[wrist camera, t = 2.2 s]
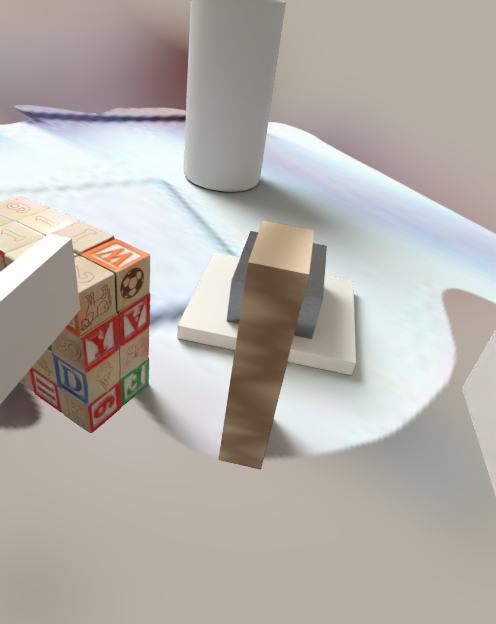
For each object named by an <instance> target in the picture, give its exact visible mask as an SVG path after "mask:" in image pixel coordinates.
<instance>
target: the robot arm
mask: <svg viewBox="0 0 496 624" xmlns="http://www.w3.org/2000/svg"><path fill="white" fill-rule="evenodd" d="M79 311H80V302H79V293H78V285H77V277H76V269H75V260H74V252H73V244H72V238H69V237H64V236H58V235H53V234H47V235H46V236H45V237H44V238H42V239H41V240H40V241H39V242H37V243H36V244H35V245H34V246H32V247H31V248H30V249H29V250H27V251H26V252H25V253H24V254H22V255H21V256H20V257H19V258H17V259H16V260H15V261H14V262H12V263H11V264H10V265H9V266H7V267H6V268H5V269H4V270H2V271H1V272H0V404H1V403H2V402H3V401H4V400H5V398H6V397H7V396H8V395H9V394H10V393H11V391H12V390H13V389H14V388H15V387H16V385H17V384H18V383H19V382H20V381H21V379H22V378H23V377H24V376H25V375H26V374H27V372H28V371H29V370H30V369H31V368H32V366H33V365H34V364H35V363H36V362H37V360H38V359H39V358H40V357H41V356H42V354H43V353H44V352H45V351H46V350H47V349H48V347H49V346H50V345H51V344H52V343H53V341H54V340H55V339H56V338H57V337H58V335H59V334H60V333H61V332H62V331H63V330H64V328H65V327H66V326H67V325H68V324H69V322H70V321H71V320H72V319H73V318H74V316H75V315H76V314H77V313H78V312H79ZM462 389H463V392H464V396H465V399H466V402H467V405H468V408H469V412H470V415H471V418H472V421H473V424H474V428H475V431H476V434H477V437H478V441H479V444H480V447H481V450H482V454H483V457H484V460H485V464H486V467H487V470H488V473H489V476H490V479H491V483H492V486H493V489H494V492H495V496H496V330H495V331H494V333H493V335H492V336H491V338H490V340H489V342H488V343H487V345H486V347H485V349H484V351H483V352H482V354H481V356H480V358H479V359H478V361H477V363H476V365H475V366H474V368H473V370H472V372H471V373H470V375H469V377H468V379H467V381H466V382H465V384H464V386H463V387H462Z"/></svg>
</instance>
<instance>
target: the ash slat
mask: <svg viewBox="0 0 496 624" xmlns="http://www.w3.org/2000/svg"><path fill="white" fill-rule="evenodd" d="M313 238H314V230H311V229H306V228H301V227H296V226H290V225H285V224H280V223H275V222H270V221H265V220H263V221H262V224H261V227H260V230H259V233H258V235H257V238H256V241H255V244H254V247H253V250H252V252H251V255H250V258H249V261H248V266H247V273H246V279H245V286H244V293H243V300H242V306H241V313H240V320H239V326H238V333H237V340H236V347H235V353H234V360H233V367H232V373H231V380H230V387H229V394H228V400H227V407H226V414H225V420H224V427H223V434H222V441H221V447H220V454H219V460H222V461H226V462H230V463H235V464H239V465H244V466H248V467H252V468H257V469H261V467H262V463H263V459H264V455H265V450H266V446H267V442H268V438H269V434H270V430H271V426H272V422H273V418H274V414H275V410H276V406H277V402H278V398H279V394H280V390H281V386H282V382H283V378H284V374H285V370H286V366H287V362H288V357H289V353H290V349H291V345H292V341H293V337H294V333H295V329H296V325H297V321H298V317H299V313H300V309H301V305H302V301H303V297H304V293H305V289H306V285H307V281H308V277H309V271H310V262H311V254H312V246H313Z"/></svg>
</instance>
